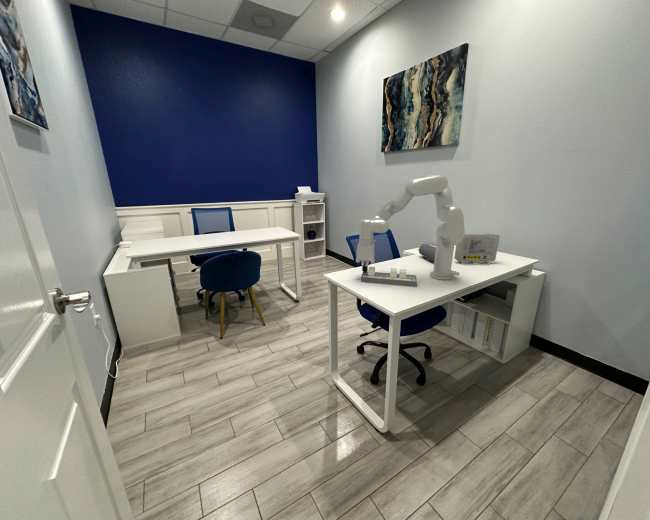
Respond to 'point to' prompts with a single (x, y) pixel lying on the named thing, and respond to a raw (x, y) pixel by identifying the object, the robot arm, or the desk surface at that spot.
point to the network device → (477, 248)
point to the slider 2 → (402, 273)
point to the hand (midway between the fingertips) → (364, 272)
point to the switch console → (389, 279)
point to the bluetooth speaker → (428, 252)
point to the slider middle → (393, 273)
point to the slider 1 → (371, 271)
